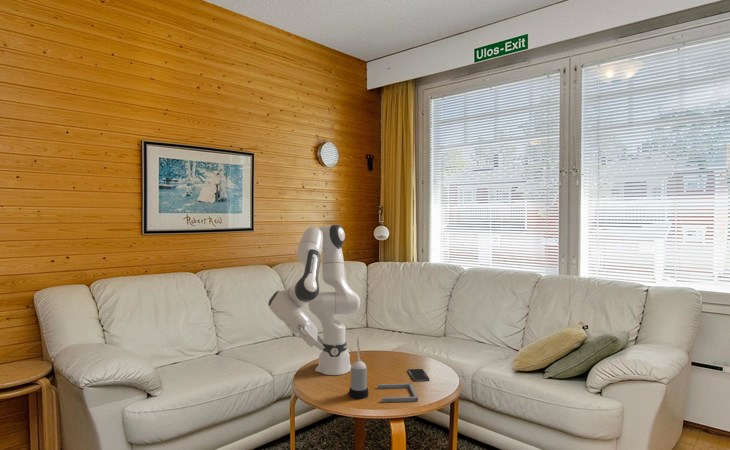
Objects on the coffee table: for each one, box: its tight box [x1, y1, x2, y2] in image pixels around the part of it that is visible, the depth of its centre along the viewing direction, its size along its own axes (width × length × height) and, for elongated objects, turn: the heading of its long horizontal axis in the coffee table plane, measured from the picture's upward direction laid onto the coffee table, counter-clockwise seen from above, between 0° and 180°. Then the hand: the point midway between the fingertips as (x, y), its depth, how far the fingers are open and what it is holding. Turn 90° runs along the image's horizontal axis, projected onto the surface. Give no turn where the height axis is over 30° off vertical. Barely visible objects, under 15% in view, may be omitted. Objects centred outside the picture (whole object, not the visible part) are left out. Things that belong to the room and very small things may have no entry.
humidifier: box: [347, 336, 369, 400], centre depth 194 cm, size 8×8×25 cm
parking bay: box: [377, 383, 419, 403], centre depth 195 cm, size 16×15×2 cm
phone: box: [407, 368, 430, 382], centre depth 218 cm, size 8×1×15 cm
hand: (322, 345), depth 192 cm, fingers open, 8 cm apart
